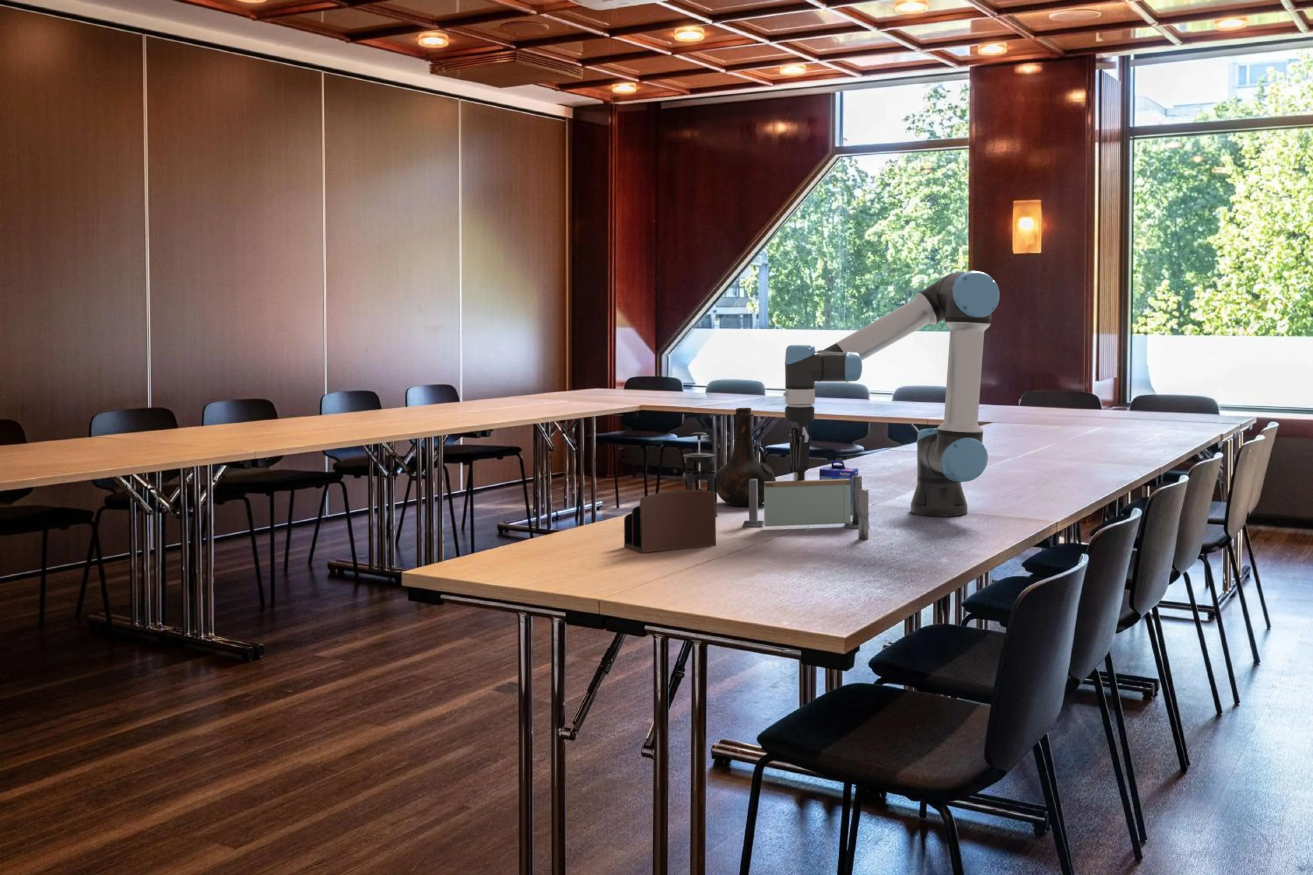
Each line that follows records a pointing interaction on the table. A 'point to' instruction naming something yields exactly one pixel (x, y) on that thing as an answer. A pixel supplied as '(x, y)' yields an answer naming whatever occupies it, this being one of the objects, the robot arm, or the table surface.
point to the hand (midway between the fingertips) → (799, 496)
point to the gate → (807, 502)
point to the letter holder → (672, 522)
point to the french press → (701, 475)
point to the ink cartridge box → (838, 473)
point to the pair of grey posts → (857, 522)
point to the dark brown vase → (742, 466)
